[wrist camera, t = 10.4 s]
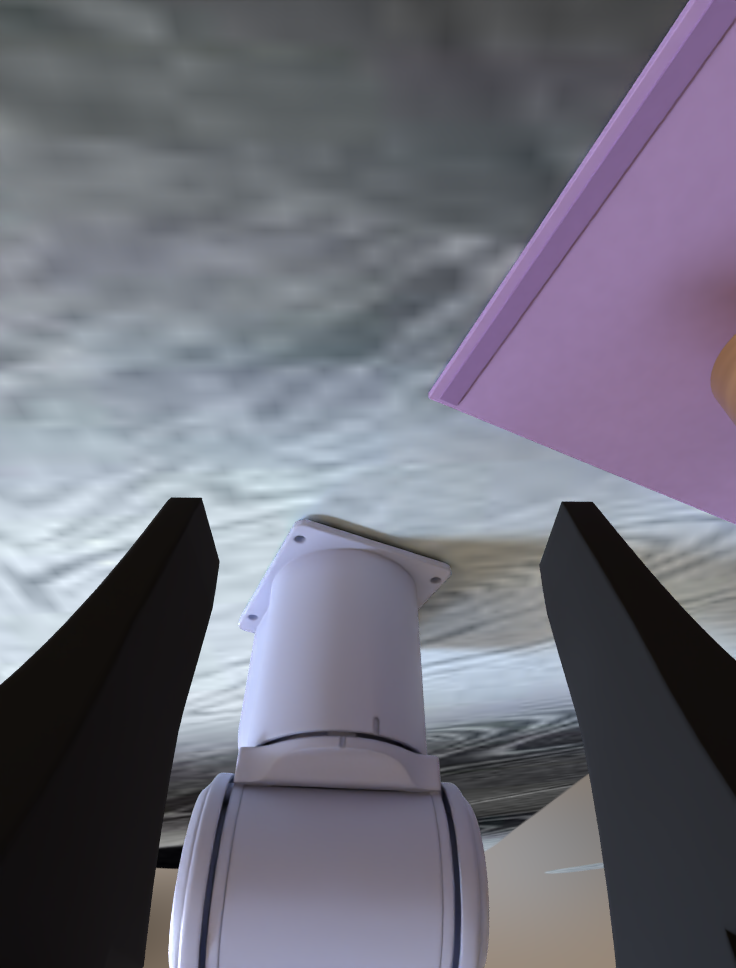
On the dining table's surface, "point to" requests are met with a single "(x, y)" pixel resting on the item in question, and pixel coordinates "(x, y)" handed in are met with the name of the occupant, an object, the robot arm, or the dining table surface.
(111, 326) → the dining table surface
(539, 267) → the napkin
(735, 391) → the salt mill
